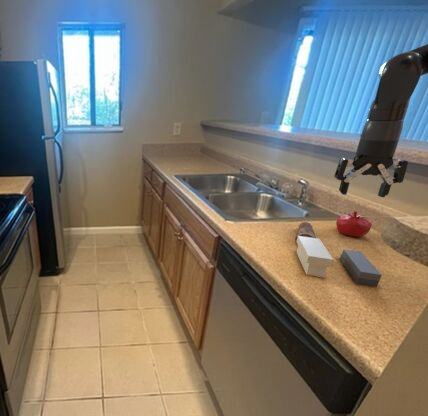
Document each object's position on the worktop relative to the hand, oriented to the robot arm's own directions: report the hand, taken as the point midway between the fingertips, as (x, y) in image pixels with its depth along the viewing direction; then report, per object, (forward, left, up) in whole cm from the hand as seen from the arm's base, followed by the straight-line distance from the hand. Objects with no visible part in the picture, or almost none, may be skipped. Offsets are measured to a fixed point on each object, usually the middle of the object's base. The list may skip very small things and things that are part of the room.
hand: (361, 195), depth 79 cm
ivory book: (+8, +3, -19) cm, 21 cm away
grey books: (-4, +3, -23) cm, 24 cm away
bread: (+6, -17, -24) cm, 30 cm away
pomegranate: (-12, -28, -24) cm, 38 cm away
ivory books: (+8, +3, -23) cm, 25 cm away
